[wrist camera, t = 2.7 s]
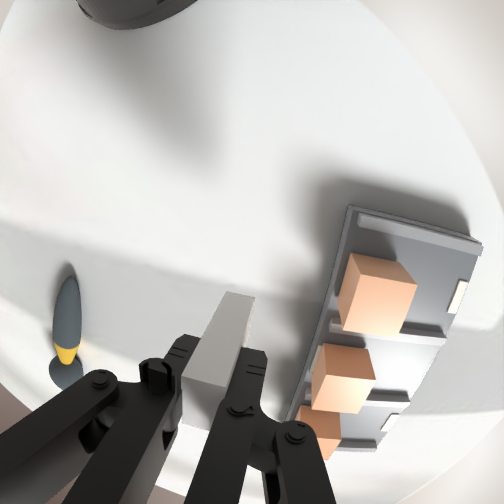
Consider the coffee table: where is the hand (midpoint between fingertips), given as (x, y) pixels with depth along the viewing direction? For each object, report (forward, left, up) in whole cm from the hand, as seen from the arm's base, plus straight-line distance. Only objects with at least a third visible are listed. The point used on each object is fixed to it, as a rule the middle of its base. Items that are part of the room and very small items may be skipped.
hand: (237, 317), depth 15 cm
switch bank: (+8, +12, -9) cm, 17 cm away
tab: (0, +8, -7) cm, 11 cm away
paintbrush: (+15, -22, -10) cm, 29 cm away
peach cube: (+8, +8, -7) cm, 13 cm away
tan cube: (+16, +8, -7) cm, 19 cm away
